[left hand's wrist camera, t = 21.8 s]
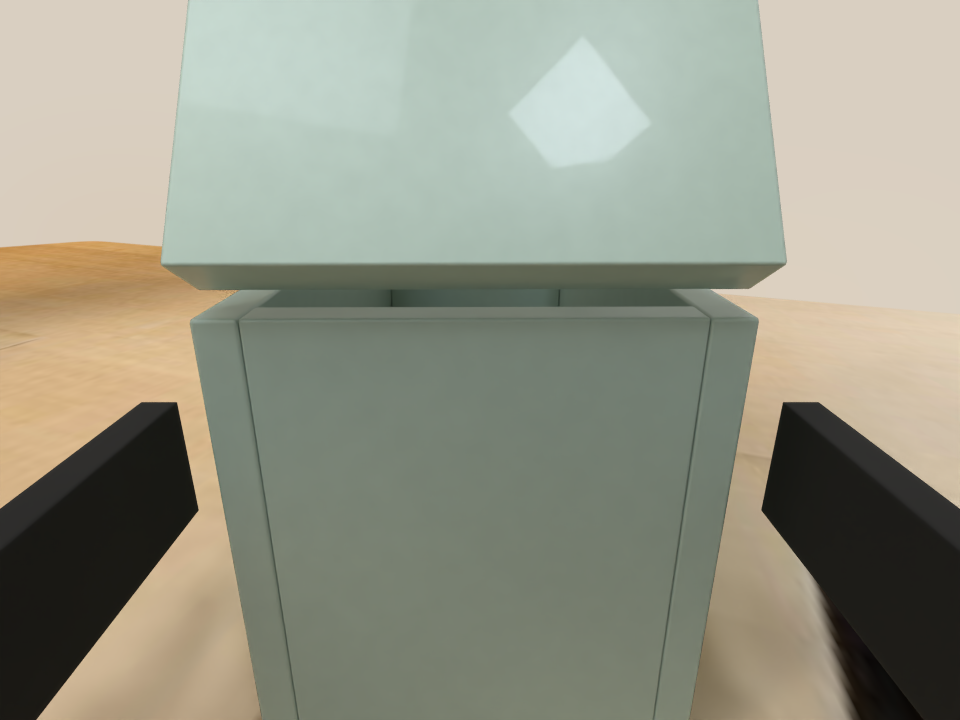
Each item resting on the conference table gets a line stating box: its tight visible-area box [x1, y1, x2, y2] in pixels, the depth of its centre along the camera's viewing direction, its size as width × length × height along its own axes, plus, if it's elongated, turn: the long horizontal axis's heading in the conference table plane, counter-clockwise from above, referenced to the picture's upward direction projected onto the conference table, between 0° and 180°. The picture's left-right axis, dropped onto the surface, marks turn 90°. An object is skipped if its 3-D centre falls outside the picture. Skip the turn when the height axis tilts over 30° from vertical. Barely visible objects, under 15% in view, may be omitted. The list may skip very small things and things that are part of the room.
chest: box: [190, 289, 759, 720], centre depth 19 cm, size 17×9×10 cm, turn 1°
